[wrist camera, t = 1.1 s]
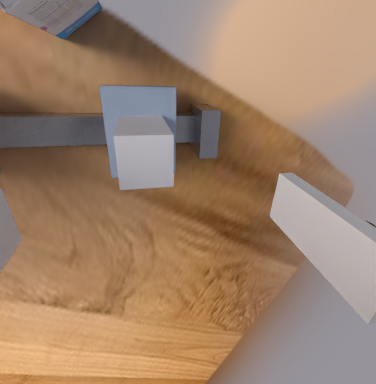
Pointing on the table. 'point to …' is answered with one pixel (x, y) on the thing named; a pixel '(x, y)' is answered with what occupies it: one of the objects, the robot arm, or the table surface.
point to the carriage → (140, 134)
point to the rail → (103, 129)
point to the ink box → (52, 13)
